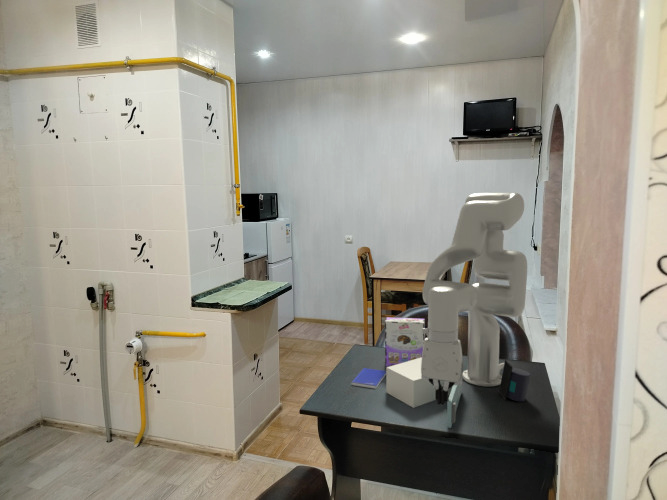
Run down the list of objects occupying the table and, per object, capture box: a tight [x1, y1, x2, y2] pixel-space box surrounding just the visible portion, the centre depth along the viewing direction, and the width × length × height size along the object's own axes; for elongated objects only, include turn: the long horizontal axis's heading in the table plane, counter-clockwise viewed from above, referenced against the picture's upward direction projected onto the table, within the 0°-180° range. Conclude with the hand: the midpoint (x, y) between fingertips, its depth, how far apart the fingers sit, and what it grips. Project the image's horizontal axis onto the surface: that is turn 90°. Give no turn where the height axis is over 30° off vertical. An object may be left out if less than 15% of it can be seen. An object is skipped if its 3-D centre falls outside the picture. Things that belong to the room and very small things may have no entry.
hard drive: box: [350, 367, 386, 389], centre depth 148 cm, size 2×8×12 cm
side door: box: [446, 384, 463, 429], centre depth 126 cm, size 24×2×7 cm, turn 157°
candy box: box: [384, 316, 426, 367], centre depth 159 cm, size 14×6×16 cm, turn 77°
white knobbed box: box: [385, 357, 453, 409], centre depth 137 cm, size 19×12×9 cm, turn 123°
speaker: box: [498, 359, 531, 403], centre depth 132 cm, size 8×6×10 cm
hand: (441, 402), depth 118 cm, fingers closed
